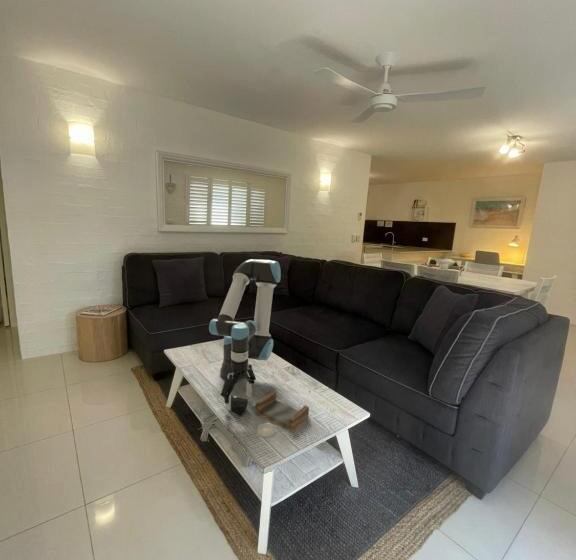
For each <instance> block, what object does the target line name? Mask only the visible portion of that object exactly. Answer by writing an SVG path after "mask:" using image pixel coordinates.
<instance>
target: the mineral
mask: <svg viewBox="0 0 576 560" xmlns="http://www.w3.org/2000/svg"><path fill="white" fill-rule="evenodd" d="M230 396H231V410H230V411H231V412H232V413H233V414H234V415H235V416H238V417H241V416H243V415H244V414H245V411H246V408H247V406H248V403H249V399H248V398H246V397H245V398H244V397H242V396H237V395H230Z"/></svg>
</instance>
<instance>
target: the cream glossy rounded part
mask: <svg viewBox="0 0 576 560" xmlns="http://www.w3.org/2000/svg"><path fill="white" fill-rule="evenodd" d="M256 433H257V435H258V436H259V437H263V438H271V437H273V436H274V435H276V433H277V428H276V426H275V424H272V423H269V422H263V423H261V424H258V426H256Z"/></svg>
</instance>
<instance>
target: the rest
mask: <svg viewBox="0 0 576 560" xmlns="http://www.w3.org/2000/svg"><path fill="white" fill-rule="evenodd" d="M309 411H310V406H308V405H303V406H302V407H301V408H300V409H299V410H298V409H296V408H294V407H293V406H290V405H288V404H285V403H283V402H281V401H280V400H277V391H274V390H272V391H270V392H269V393H268V394H267V395H265V396H263V397H261V398H260V399H259V400H258V401H256V402H255V414H257V415H259V416H262V417H263V418H265V419H267V420H269V421H271V422H272V423H275V424H277V425H279V426H280V427H283V429H286V430H288V431H290V432H292V433H294V431H296V430H297V429H298V428H299V427H300V426H301V425H302V424H303V423H304V422H305V421H306V420H307V419H309V413H310V412H309Z"/></svg>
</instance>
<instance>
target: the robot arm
mask: <svg viewBox="0 0 576 560" xmlns="http://www.w3.org/2000/svg"><path fill="white" fill-rule="evenodd" d="M281 273H282V271H281V266H280V262H278V261H276V260H271V259H255V258H251V259H246V260H245V261H243V262H242V263H241V264H240V265H238V266H237V268H236V269H235V270H234V272H233V275H232V282H231V285H230V287H229V289H228V292H227V294H226V297H225V299H224V301H223V304H222V307H221V310H220V313H219V315H218V317H217V318H213V319H211V320H210V322H209V326H208V331H209V333H210V334H211V335H215V336H218V337H219V336H223V341H222V345H223V349H222V350H223V361H222V364H221V367H220V369H219V374H220V375H219V376H220V377H221V378H222V379H225V380H224V383H223V386H222V389H221V393H220V396H221V397H223V398H224V405H225V406H224V408H225V409H227V410H228V411H231V396H232V395H231V394H232V392H233V390H234V388H235V386H236V384H237V383H238V382H239V381H240V380H241V379H245V380H246V381H247V382H246V393H245V394H246V396H248V397H250V398H251V397H252V395H253V387H254V384H255V383H256V382H255V381H256V379H257V378H256V374H255V373H254V370H253V366H252V365H253V364H251V363H250V364H249V359H250V360H258V361H267V360H269V359H270V357H271V354H272V352H273V348H274V339H273V338H272V335H271V334H270V332H269V331H270V323H271V322H270V320H271V312H272V306H273V305H272V304H273V295H274V289H275V287H277V284H278V283H280V282H281V278H282V274H281ZM251 281H255V284H256V286H257V291H256V300H255V309H254V317H253V320H252V319H251V320H249V319H248V320H246V321H236V320H234V319H235V316H236V314H237V312H238V309H239V306H240V303H241V301H242V298H243V295H244V292H245V290H246V288H247V287H246V286H248V285H249V283H250V282H251Z"/></svg>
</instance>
